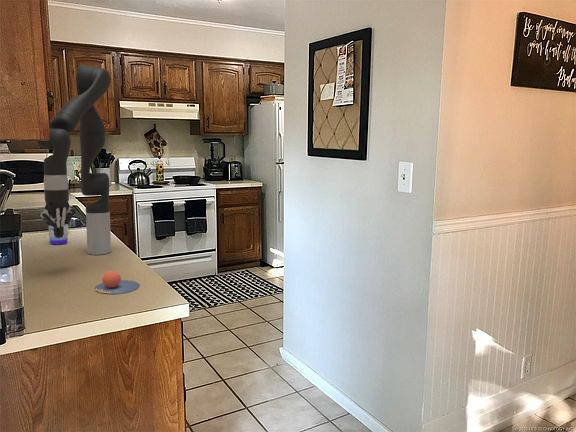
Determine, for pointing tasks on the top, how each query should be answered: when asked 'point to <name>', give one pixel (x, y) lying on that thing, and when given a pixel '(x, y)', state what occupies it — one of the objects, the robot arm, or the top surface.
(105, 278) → the ball
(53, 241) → the bottle
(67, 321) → the top surface
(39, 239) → the top surface
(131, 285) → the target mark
